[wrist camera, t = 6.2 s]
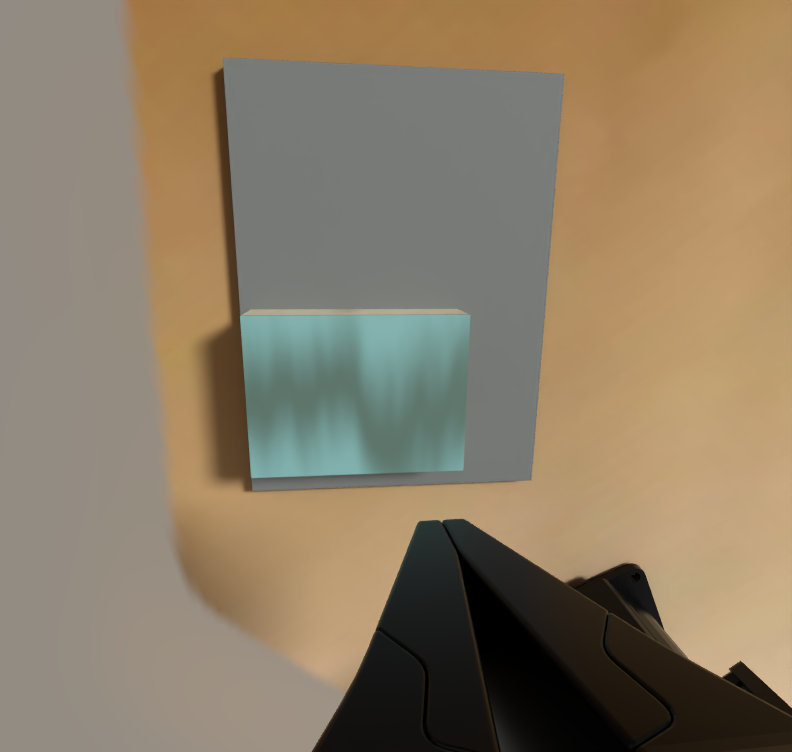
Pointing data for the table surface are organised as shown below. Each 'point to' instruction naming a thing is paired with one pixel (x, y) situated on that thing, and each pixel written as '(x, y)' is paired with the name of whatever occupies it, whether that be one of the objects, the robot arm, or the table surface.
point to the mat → (404, 221)
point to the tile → (355, 390)
